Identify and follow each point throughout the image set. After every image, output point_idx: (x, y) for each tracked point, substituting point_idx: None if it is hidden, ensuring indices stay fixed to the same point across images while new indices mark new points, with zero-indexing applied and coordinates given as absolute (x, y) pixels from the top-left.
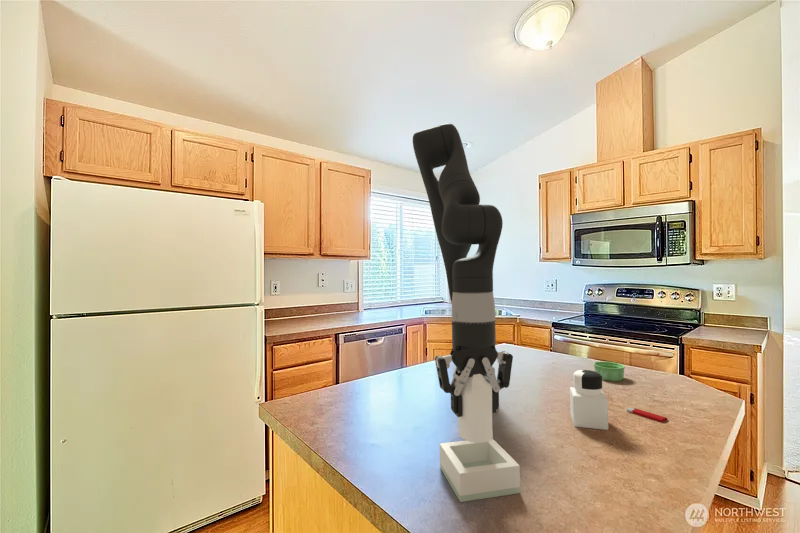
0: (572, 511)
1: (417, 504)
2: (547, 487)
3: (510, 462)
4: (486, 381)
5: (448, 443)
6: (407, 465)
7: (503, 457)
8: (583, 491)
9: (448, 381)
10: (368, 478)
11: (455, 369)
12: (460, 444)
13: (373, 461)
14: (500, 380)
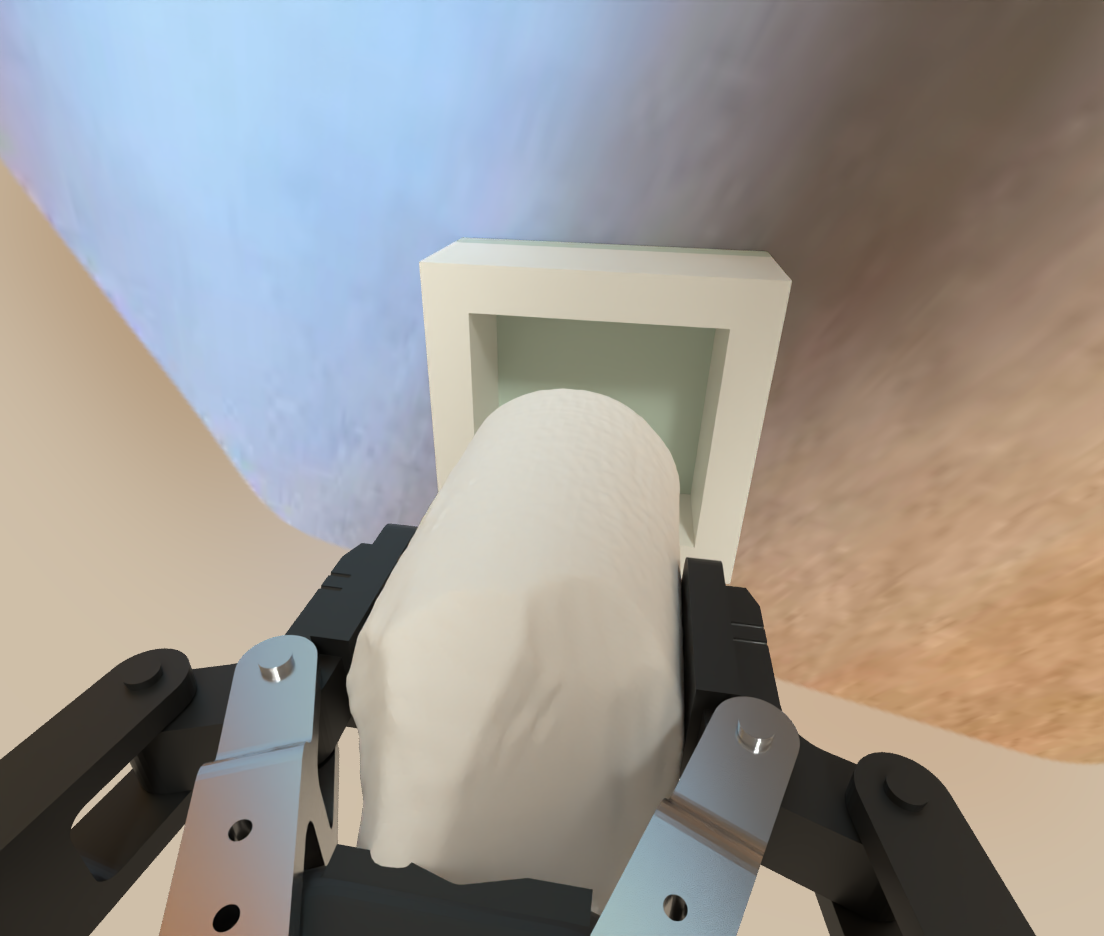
0: (820, 635)
1: (325, 453)
2: (855, 518)
3: (707, 552)
4: (603, 905)
5: (473, 276)
6: (298, 158)
7: (702, 509)
8: (970, 578)
9: (141, 864)
10: (121, 228)
11: (180, 858)
12: (542, 312)
13: (111, 53)
14: (840, 878)
